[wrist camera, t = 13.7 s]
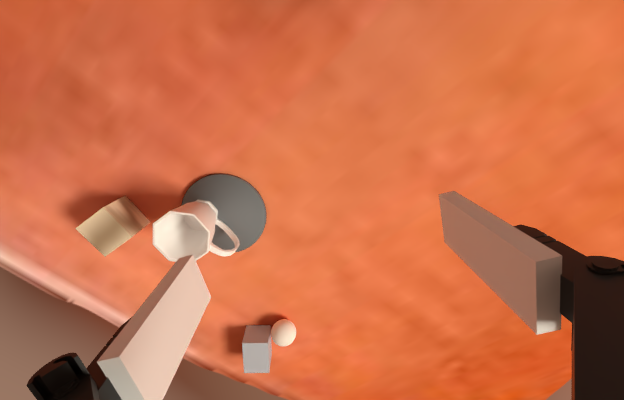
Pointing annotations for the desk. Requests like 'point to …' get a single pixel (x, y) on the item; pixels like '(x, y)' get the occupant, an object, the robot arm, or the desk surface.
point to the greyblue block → (257, 349)
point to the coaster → (231, 208)
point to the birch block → (113, 225)
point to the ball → (283, 332)
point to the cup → (190, 231)
